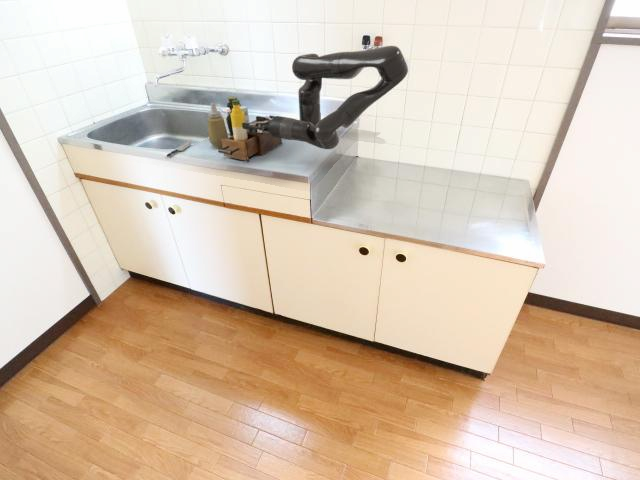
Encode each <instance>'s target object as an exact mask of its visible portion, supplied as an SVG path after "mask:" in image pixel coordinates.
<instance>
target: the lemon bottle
mask: <svg viewBox="0 0 640 480" xmlns="http://www.w3.org/2000/svg"><path fill="white" fill-rule="evenodd" d="M232 104H233V109H232V113H231V114H230V115H231V121H232V128H233V135H234V140H235V141H240V142H245V141H247V140H248V136H247V129H243V128H242V123H243V122H245V123H246V121H245V114H244V112H242V108H240V105H241V101H240V100H239V99H237V100H232ZM239 104H240V105H239Z"/></svg>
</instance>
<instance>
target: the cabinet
mask: <svg viewBox="0 0 640 480" xmlns="http://www.w3.org/2000/svg"><path fill="white" fill-rule="evenodd" d="M256 122H257V121H256V119H255V120H252V121H251V122H250V121H249V123H250V124H254V123H256ZM258 126H260V124H259V125H258ZM247 134H250V135H256V136H258V143H259V152H257V153H255V154H254V155H256V156H263V155H265V154H267V153H268V152H270V151H272V150H273V149H275V148H277V147H279V146H280V145H282V144H283V141H282V140H283V139H281V138H276V137H273V136H272V135H271V133H270V132H263V135H259V134H252V133H249V131H248V130H247Z"/></svg>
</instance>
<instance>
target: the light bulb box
mask: <svg viewBox="0 0 640 480" xmlns="http://www.w3.org/2000/svg"><path fill="white" fill-rule="evenodd" d="M240 105H241V106H240V108H242V112H244V114H245V121H246V123H250V115H249V108H248V106H246V105H243V104H240ZM230 113H231V110H230V108H228V107H223V108H220V114H221V117H223V118H224V122H225V126H226V130H227V134H228V135H230V133H229V129H228V125H227V121H226V118H227V116H228V115H229V114H230Z"/></svg>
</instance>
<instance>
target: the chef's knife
mask: <svg viewBox="0 0 640 480" xmlns="http://www.w3.org/2000/svg"><path fill="white" fill-rule="evenodd" d="M191 145H192V140H189V141H187V142H185V143H184V144H182V145H181V146H179V147H177V148H176V149H174V150H172V151H171V152H169V153H167V154H166V157H171V156H172V155H173V154H176V153H177V152H183V151H184V150H185V149H187V148H188V147H190V146H191Z"/></svg>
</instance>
